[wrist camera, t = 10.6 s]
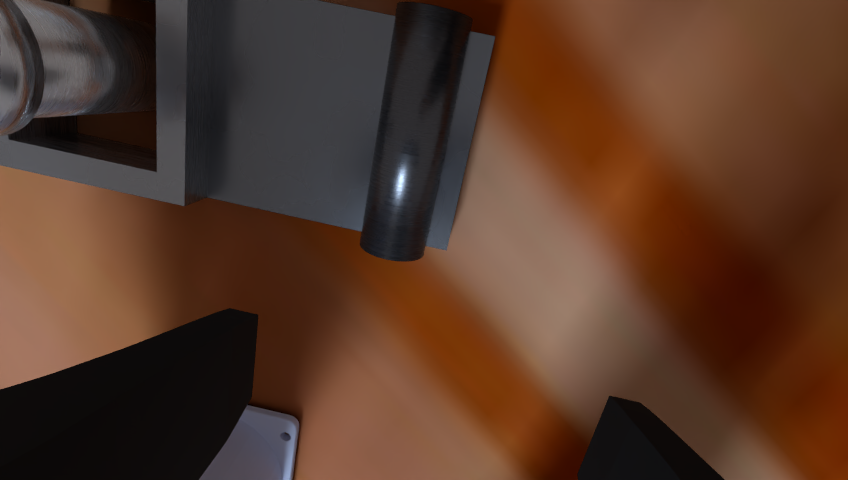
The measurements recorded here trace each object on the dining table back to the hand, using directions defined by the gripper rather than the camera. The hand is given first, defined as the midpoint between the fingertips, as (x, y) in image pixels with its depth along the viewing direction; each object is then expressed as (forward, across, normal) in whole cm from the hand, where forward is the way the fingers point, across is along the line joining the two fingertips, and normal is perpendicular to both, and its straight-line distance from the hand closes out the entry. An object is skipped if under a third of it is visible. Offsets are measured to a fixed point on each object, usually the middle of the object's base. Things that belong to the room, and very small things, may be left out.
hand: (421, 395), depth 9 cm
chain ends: (+9, +13, -4) cm, 17 cm away
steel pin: (+9, +13, -4) cm, 16 cm away
